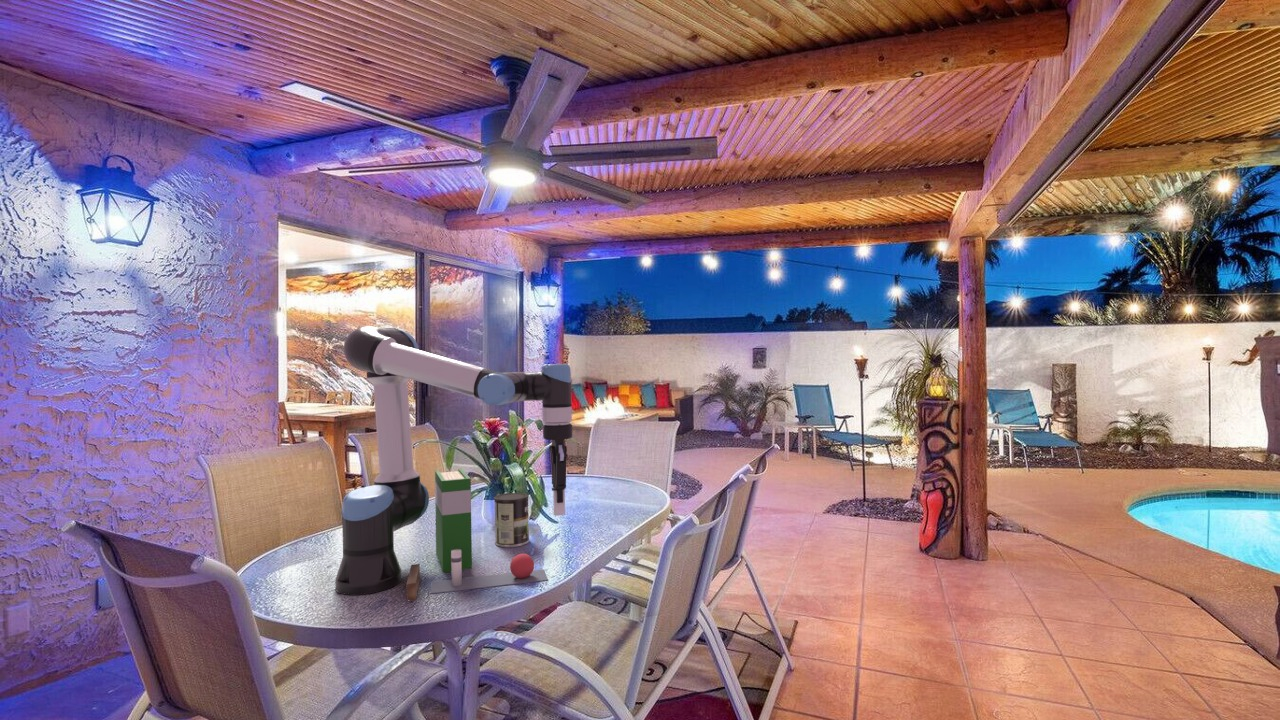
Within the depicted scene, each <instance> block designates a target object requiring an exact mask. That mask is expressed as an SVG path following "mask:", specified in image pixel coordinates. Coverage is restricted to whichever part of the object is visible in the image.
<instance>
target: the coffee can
mask: <svg viewBox="0 0 1280 720" xmlns="http://www.w3.org/2000/svg"><path fill="white" fill-rule="evenodd" d="M529 496H530V495H529V494H527V493H523V492H507V493H502V494H497V495H495V496H494V497H493V501H494V531H495V532H494V535H495V536H494V538H495V539H494V541H495V542H494V544H495V546H498V547H501V548H515V547H521V546H525V545H527V544H528V543H529V542H530V532H529V531H530V530H529V529H530V527H529V520H530V519H529Z"/></svg>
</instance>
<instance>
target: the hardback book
mask: <svg viewBox="0 0 1280 720" xmlns="http://www.w3.org/2000/svg"><path fill="white" fill-rule="evenodd" d="M471 482H472V479H471V477H470V476H469V475H468V474H467V473H466V472H465V470H463V468H458V469H457V471H456V470H454V471H447V472H446V471H442V472H440V470H439V469H437V470H434V486H435V487H434V488H435V490H434V491H435V493H434V494H435V498H434V499H435V554H436V557H437V560H438V562H439V565H440V568H441V571H442V573H449V572H450V573H451V551H452V550H455V549H460V550H461V556H462V561H461V562H462V571H464V570H469V569H473V562H472V561H473V557H472V556H473V555H472V554H473V553H472V552H473V551H472V550H473V549H472V548H473V547H472V543H473V542H472V483H471Z"/></svg>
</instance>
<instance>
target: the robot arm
mask: <svg viewBox="0 0 1280 720" xmlns="http://www.w3.org/2000/svg"><path fill="white" fill-rule="evenodd" d="M415 339H416V338H414V336H412V335H411V333H409V332H407V331H405V330H402V329H398V328H396V327H395V328H394V327H380V326H379V327H376V326H370V325H369V326H363V327H359V328H356V329H354V330H353V331H352V332H351V333H349V334H348V336H347V337H346V339H345V341H344V344H343V354H344V357H345V360H346V361H347V362H348V364H349V365H350V366H352V367H353V368H354V369H357V370H358V371H362V372H366V380H368V381H369V382H370V383H371V384H372V386H373V397H374V408H375V409H374V411H375V424H376V440H377V453H378V466H379V467H378V470H379V473H378V475H377V476H376V477H375V478H374V479H373V483H374V485H367V486H365V487H359V488H355V489H353V490H351V491H350V492H348V493H346V495H344V497H343V500H342V507H341V511H340V512H341V516H342V517H341V518H342V519H341V521H342V526H341V527H342V558H341V561H340V565H339V567H338V570H337V574H336V576H335V579H334V580H335V582H334V583H335V585H334V586H335V588H336V589H335V591H336V590H337V591H338V592H337V591H336V592H337V593H339V592H340V593H339V594H342V593H345V594H344V595H349V594H360V595H369V594H374V593H378V592H382V591H386V590H388V589H392V588H393V587H395V586H397V585H398V584H400V582H401V581H402V575H403V574H402V573H403V572H402V569H401V566H400V563H399V561H398V557H397V555H396V552H395V547H394V544H395V543H394V542H395V541H394V532H396V531H397V530H400V529H402V528H404V527H407V526H409V525H412V524H413V523H415V522H416V521H417V520H419V519H421V517H422V516H423V515H425V513H426V512H427V509H428V508H429V504H430V495H429V491H428V489H427V487H426V486H425V485H424V483H423V482H421V475H420V473H419V472H418V471H417V470H415V468H414V460H413V459H414V458H413V446H412V445H413V444H412V431H411V430H412V429H411V419H410V418H411V416H410V401H409V389H408V388H409V387H408V382H409V381H411V380H412V381H416V382H420V383H423V384H427V385H430V386H434V387H436V388H440V389H443V390H448V391H451V392H455V393H459V394H462V395H466V396H469V397H473V398H476V399H479V400H481V401H482V402H483V403H485V404H486V405H489V406H494V407H499V406H503V405H507V404H511V403H517V402H525V401H526V402H529V401H532V402H533V401H534V402H535V401H536V402H538V401H541V402H542V408H541V409H542V411H541V412H542V423H544V424H543V426H542V437H543V439H544V440H548V441H551V445H549V453H550V468H551V469H550V470H551V471H550V472H551V485H552V487H551V491H553V492H552V493H553V494H552V495H553V515H554V516H555V517H556V516H564V515H566V504H565V503H566V496H565V495H566V494H565V491H566V489H567V461H568V460H567V459H568V453H567V452H568V449H567V445H565V440H570V439H572V438H573V424H572V423H571V422H572V421H573V417H572V416H573V415H572V414H574V413H575V411H574V409H572V382H573V380H572V372H571V371H572V370H571V367H570V365H569V364H567V363H552V364H548V363H547V364H543V365H542V366H541V370H540V371H506V372H500V371H496V370H492V369H489V368H485V367H483V366H482V367H481V366H477V365H474V364H472V363H468V362H464V361H460V360H456V359H453V358H450V357H446V356H442V355H439V354H435V353H431V352H427V351H424V350H420V349H419V346H418V342H417V341H416V340H415Z"/></svg>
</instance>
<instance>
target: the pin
mask: <svg viewBox="0 0 1280 720" xmlns="http://www.w3.org/2000/svg"><path fill="white" fill-rule="evenodd" d="M461 561H462V556H461V550H460V549H455V550H452V551H451V571H450V574H451V579H452V586H459V585H461V584H462V578H463V577H462V575H463V574H462V573H463V570H462V562H461Z"/></svg>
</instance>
